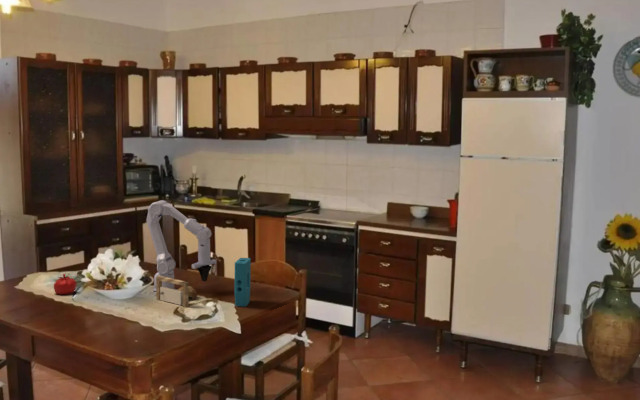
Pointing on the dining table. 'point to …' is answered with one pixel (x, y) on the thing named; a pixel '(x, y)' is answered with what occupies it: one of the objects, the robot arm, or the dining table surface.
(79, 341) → the dining table surface
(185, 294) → the door frame
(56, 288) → the pomegranate
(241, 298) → the block
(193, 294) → the bread roll
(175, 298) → the door
